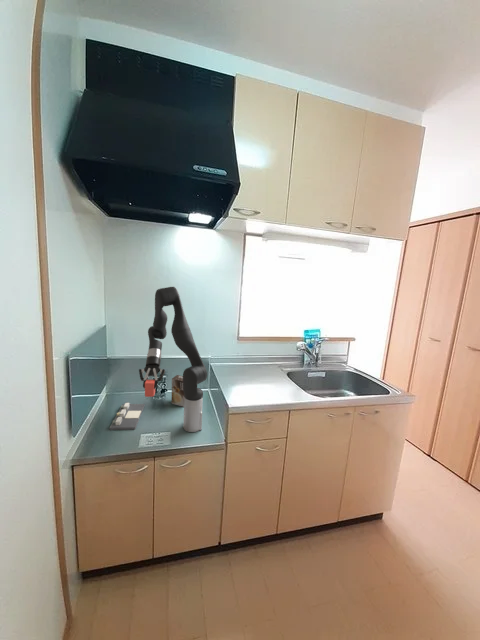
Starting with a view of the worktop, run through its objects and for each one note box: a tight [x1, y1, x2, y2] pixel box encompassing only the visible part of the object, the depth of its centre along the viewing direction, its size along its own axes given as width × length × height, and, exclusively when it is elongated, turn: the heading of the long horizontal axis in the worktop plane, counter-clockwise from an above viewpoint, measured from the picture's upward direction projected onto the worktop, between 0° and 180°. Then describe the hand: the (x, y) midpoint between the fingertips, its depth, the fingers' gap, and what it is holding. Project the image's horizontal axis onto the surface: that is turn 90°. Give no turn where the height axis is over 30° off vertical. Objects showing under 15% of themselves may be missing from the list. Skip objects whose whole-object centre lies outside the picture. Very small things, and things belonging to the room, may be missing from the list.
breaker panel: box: [109, 402, 146, 431], centre depth 140 cm, size 12×22×3 cm, turn 8°
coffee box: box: [171, 374, 184, 408], centre depth 156 cm, size 9×6×16 cm
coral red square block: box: [144, 379, 156, 398], centre depth 139 cm, size 4×4×8 cm
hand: (149, 388), depth 138 cm, fingers closed on coral red square block, 4 cm apart
